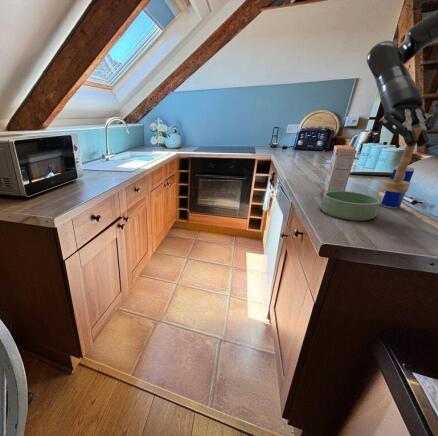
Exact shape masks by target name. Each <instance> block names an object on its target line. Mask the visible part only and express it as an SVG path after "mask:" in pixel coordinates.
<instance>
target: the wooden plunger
mask: <svg viewBox="0 0 438 436" xmlns="http://www.w3.org/2000/svg"><path fill="white" fill-rule="evenodd" d="M411 131H414V133H415V135H416V138H417V140H418V138H419V136H420V133H421V131H422V128H419V127H418V128H413V130H411ZM416 146H417V143H416V144H415V145H413V146H412V147H408V146H407V145H406V144H405V148H404V150H403V153H402V155H401V158H400V161H399V164H398V165H397V166H398V169H397V171H396V174H395V176H394V179H393V180H392V179H391V178H389V179H388V178H387V179H383V182H382V185H381V187H380V188H381V190H383V191H385V192H386V191H391V192H400V193H403V192H405V193H407V192H408V190H409V188H410V186H411V182H406V181H402V179H403V176H404V174H405V171H406V169H407V166H409V164H410V161H411V159H412V155H413V153H414V150H415V148H416Z"/></svg>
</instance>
